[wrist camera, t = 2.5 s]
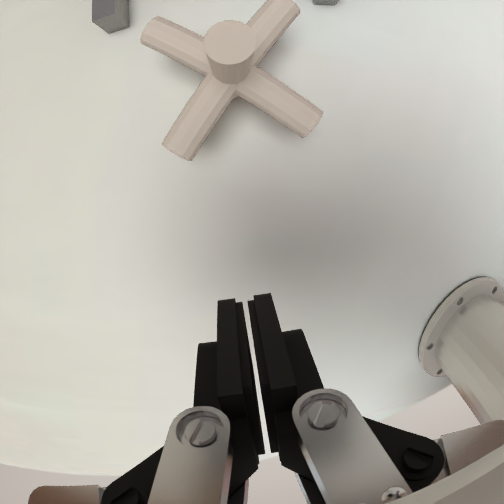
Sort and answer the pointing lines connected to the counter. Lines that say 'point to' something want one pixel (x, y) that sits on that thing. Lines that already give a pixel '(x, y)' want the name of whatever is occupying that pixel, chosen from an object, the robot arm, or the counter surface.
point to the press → (117, 16)
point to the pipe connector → (230, 73)
